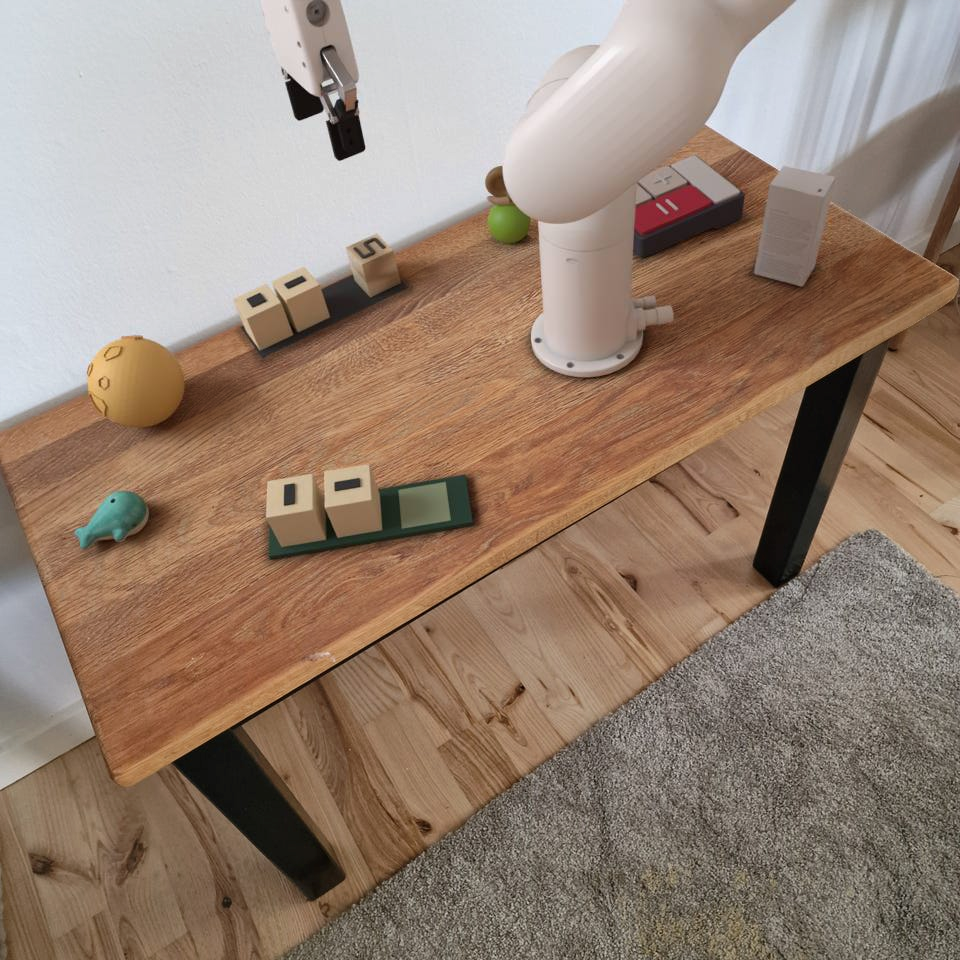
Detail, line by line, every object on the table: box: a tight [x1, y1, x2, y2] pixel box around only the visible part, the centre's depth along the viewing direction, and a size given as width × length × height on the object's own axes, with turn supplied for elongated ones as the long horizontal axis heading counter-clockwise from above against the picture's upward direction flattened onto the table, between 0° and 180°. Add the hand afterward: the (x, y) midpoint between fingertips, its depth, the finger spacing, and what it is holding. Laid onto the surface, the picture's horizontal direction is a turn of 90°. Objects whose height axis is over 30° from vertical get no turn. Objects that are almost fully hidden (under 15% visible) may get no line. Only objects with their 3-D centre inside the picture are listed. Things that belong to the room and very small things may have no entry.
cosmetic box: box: [753, 165, 837, 288], centre depth 93 cm, size 6×4×12 cm
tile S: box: [345, 233, 402, 297], centre depth 102 cm, size 4×4×5 cm
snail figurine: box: [484, 165, 531, 245], centre depth 103 cm, size 5×6×12 cm
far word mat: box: [232, 266, 409, 359], centre depth 100 cm, size 20×7×6 cm, turn 123°
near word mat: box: [265, 463, 474, 561], centre depth 79 cm, size 20×6×6 cm, turn 98°
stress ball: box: [86, 334, 186, 429], centre depth 90 cm, size 10×10×10 cm
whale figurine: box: [74, 490, 150, 551], centre depth 83 cm, size 6×7×4 cm
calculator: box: [633, 154, 746, 259], centre depth 105 cm, size 11×4×15 cm
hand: (329, 134), depth 84 cm, fingers open, 9 cm apart
